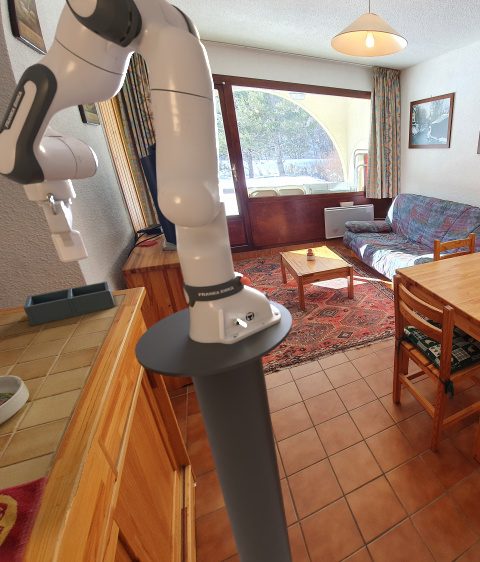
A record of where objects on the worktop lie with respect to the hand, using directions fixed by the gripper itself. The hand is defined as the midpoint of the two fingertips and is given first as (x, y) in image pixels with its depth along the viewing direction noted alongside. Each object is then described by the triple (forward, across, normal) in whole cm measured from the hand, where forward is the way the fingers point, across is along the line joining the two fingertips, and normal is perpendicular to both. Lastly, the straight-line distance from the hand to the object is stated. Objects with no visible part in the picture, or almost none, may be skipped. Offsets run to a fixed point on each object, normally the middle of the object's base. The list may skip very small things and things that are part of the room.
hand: (69, 244), depth 84 cm
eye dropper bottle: (+5, 0, 0) cm, 5 cm away
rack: (+20, +1, +4) cm, 20 cm away
